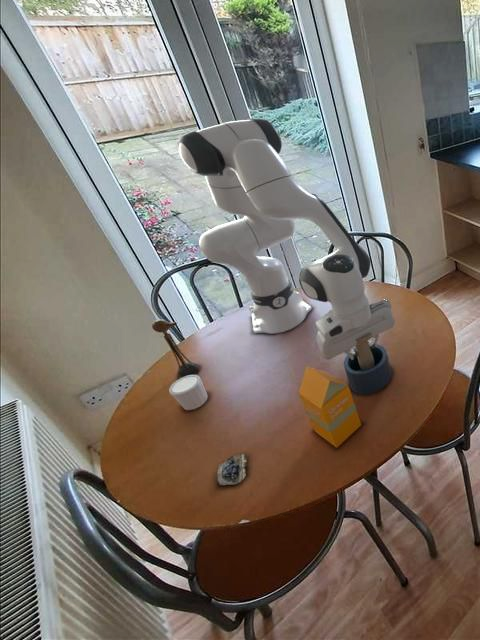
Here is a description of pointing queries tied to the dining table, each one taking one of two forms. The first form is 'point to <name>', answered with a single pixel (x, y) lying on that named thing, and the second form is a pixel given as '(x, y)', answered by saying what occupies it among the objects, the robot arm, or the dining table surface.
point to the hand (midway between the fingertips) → (363, 352)
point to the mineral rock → (232, 470)
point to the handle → (364, 353)
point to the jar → (368, 372)
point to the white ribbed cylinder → (189, 392)
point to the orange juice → (329, 406)
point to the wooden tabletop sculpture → (185, 367)
